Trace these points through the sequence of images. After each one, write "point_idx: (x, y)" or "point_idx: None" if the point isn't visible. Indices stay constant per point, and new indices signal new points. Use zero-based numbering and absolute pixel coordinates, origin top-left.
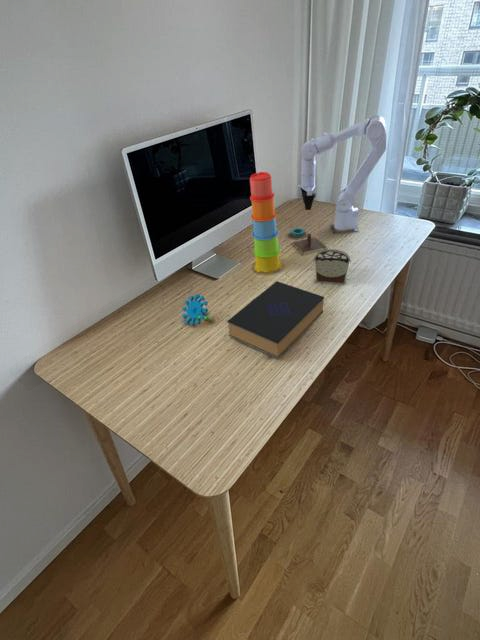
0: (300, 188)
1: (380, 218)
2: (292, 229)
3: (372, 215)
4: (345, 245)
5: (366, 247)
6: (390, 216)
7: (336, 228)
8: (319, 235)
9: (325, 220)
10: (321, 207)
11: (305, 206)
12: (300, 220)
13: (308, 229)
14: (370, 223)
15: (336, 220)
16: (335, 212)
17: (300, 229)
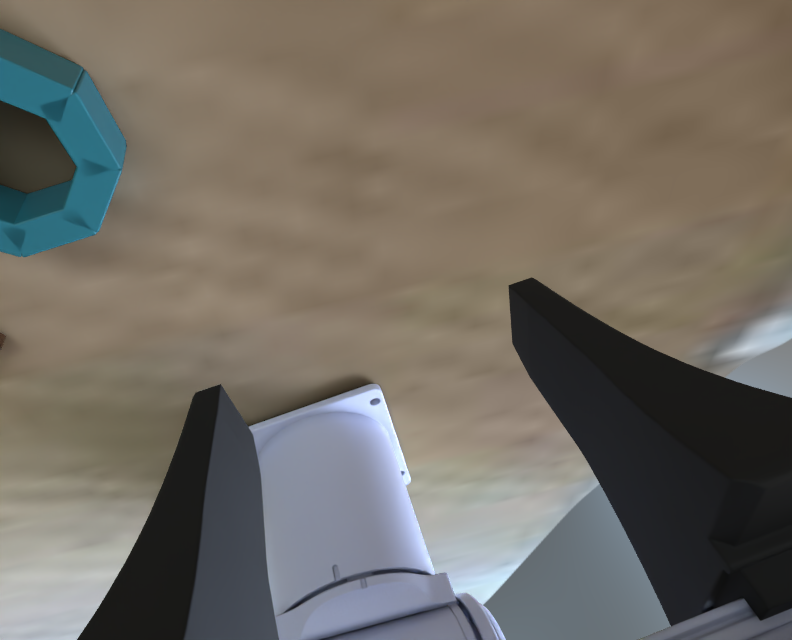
0: (731, 479)
1: (488, 540)
2: (7, 64)
3: (533, 507)
4: (16, 536)
5: (56, 609)
6: (509, 559)
7: (270, 448)
8: (126, 350)
9: (479, 313)
10: (764, 218)
11: (175, 453)
12: (496, 70)
13: (245, 220)
14: (421, 530)
15: (286, 505)
16: (325, 553)
17: (69, 187)
